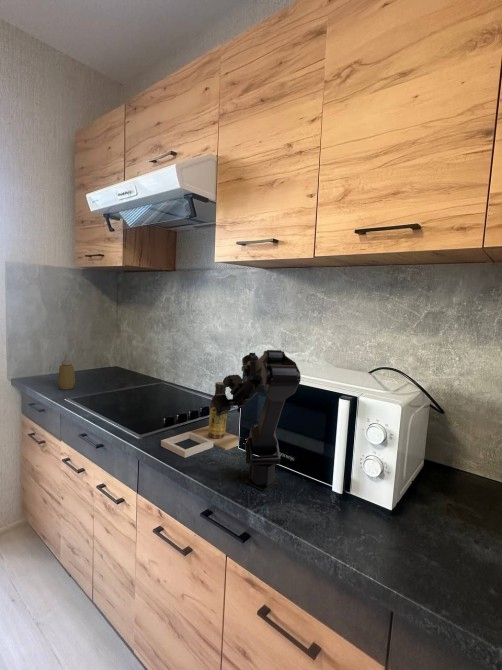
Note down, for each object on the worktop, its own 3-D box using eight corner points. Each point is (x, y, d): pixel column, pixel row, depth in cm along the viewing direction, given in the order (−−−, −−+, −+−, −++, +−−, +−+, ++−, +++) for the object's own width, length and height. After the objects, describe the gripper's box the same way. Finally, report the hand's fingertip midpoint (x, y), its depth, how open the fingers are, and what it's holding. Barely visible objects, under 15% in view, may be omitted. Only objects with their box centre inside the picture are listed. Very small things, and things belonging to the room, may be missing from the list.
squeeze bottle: (76, 386, 191) (76, 353, 189) (73, 390, 183) (74, 355, 182) (59, 386, 188) (59, 352, 187) (56, 390, 181) (56, 355, 179)
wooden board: (247, 441, 128) (247, 440, 128) (225, 450, 120) (226, 448, 120) (208, 427, 141) (208, 425, 141) (187, 433, 133) (187, 432, 133)
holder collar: (213, 447, 122) (213, 441, 122) (184, 457, 113) (184, 451, 112) (189, 436, 130) (189, 431, 130) (160, 446, 120) (161, 440, 120)
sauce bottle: (209, 440, 126) (212, 385, 125) (206, 433, 132) (209, 380, 131) (227, 439, 128) (230, 384, 126) (224, 432, 134) (226, 380, 132)
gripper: (260, 366, 126) (239, 390, 135) (216, 370, 113) (196, 396, 123) (274, 393, 120) (251, 416, 130) (230, 400, 108) (208, 425, 117)
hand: (227, 413), depth 125 cm, fingers open, 9 cm apart
